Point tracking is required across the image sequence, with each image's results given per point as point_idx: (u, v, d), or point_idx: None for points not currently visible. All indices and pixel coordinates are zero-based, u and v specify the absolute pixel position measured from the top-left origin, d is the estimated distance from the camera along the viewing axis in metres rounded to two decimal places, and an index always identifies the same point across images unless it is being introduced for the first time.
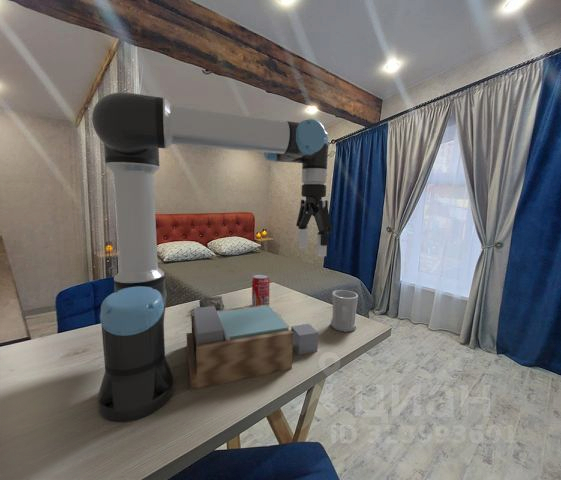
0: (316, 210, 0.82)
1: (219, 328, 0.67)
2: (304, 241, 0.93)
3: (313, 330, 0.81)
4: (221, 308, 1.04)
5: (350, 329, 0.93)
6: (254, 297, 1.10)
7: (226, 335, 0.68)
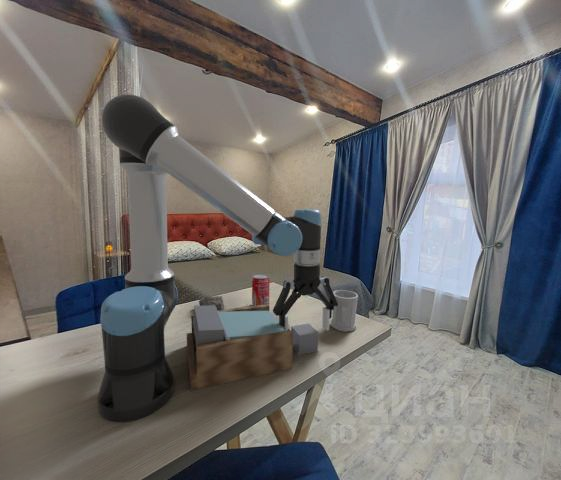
0: (297, 290, 0.79)
1: (220, 327, 0.67)
2: (325, 321, 0.83)
3: (313, 330, 0.81)
4: (222, 308, 1.04)
5: (350, 329, 0.93)
6: (254, 298, 1.10)
7: (226, 335, 0.68)
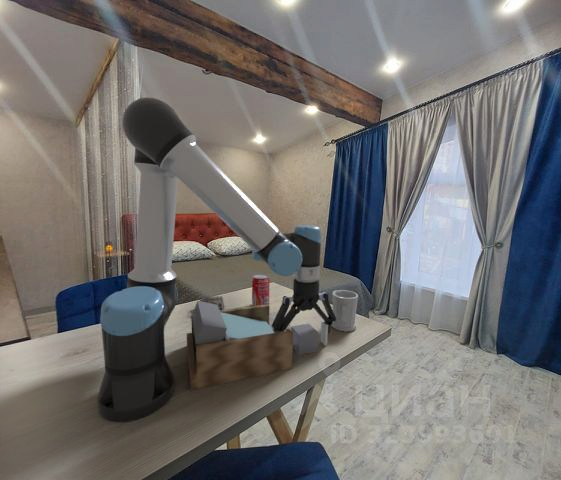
0: (296, 305, 0.80)
1: (223, 326, 0.67)
2: (323, 336, 0.84)
3: (313, 330, 0.81)
4: (223, 308, 1.04)
5: (350, 329, 0.93)
6: (254, 298, 1.10)
7: (227, 335, 0.68)
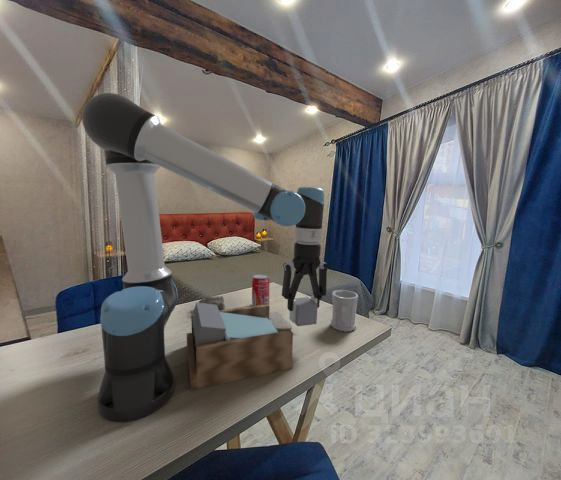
0: None
1: (222, 326, 0.67)
2: None
3: (312, 302, 0.80)
4: (223, 308, 1.04)
5: (350, 329, 0.93)
6: (254, 297, 1.10)
7: (226, 335, 0.68)
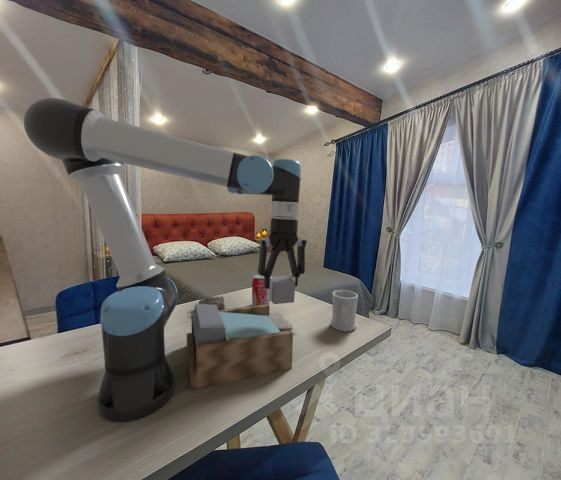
0: None
1: (221, 326, 0.67)
2: None
3: (290, 280, 0.77)
4: (224, 308, 1.04)
5: (350, 329, 0.93)
6: (254, 297, 1.10)
7: (226, 335, 0.68)
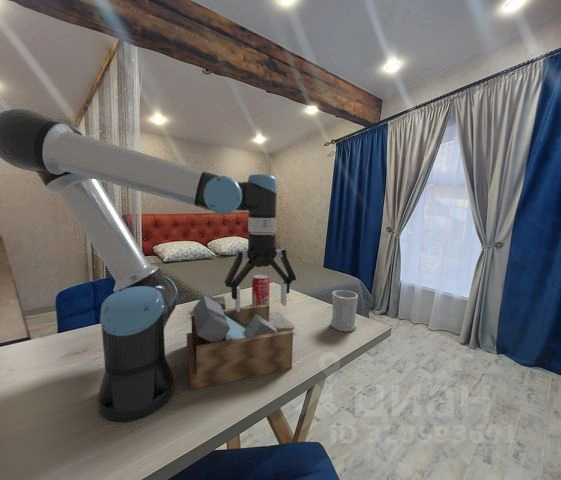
0: (251, 261, 0.75)
1: (226, 325, 0.67)
2: (282, 296, 0.79)
3: (274, 328, 0.78)
4: (225, 308, 1.04)
5: (350, 329, 0.93)
6: (254, 297, 1.10)
7: (227, 335, 0.68)
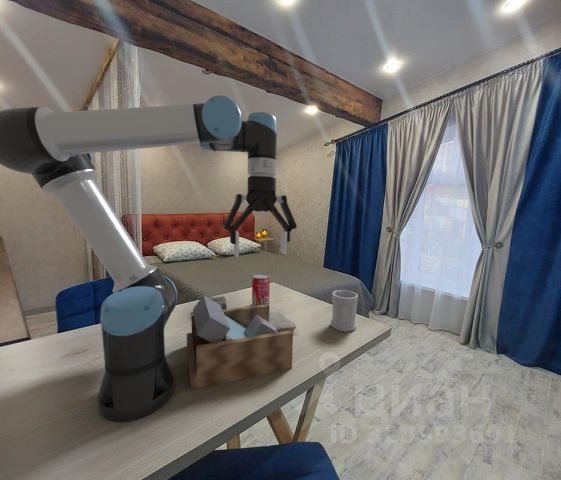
0: (250, 206, 0.73)
1: (226, 325, 0.67)
2: (283, 245, 0.77)
3: (274, 329, 0.78)
4: (226, 308, 1.04)
5: (350, 329, 0.93)
6: (254, 297, 1.10)
7: (227, 335, 0.68)
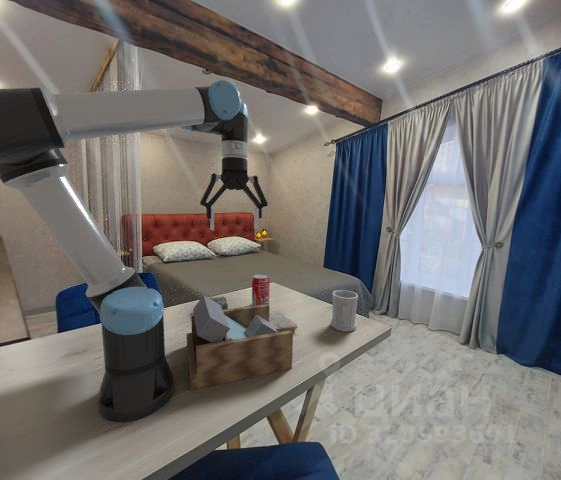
0: None
1: (226, 325, 0.67)
2: (255, 221, 0.85)
3: (274, 329, 0.78)
4: (227, 308, 1.05)
5: (350, 329, 0.93)
6: (254, 298, 1.10)
7: (227, 335, 0.68)
